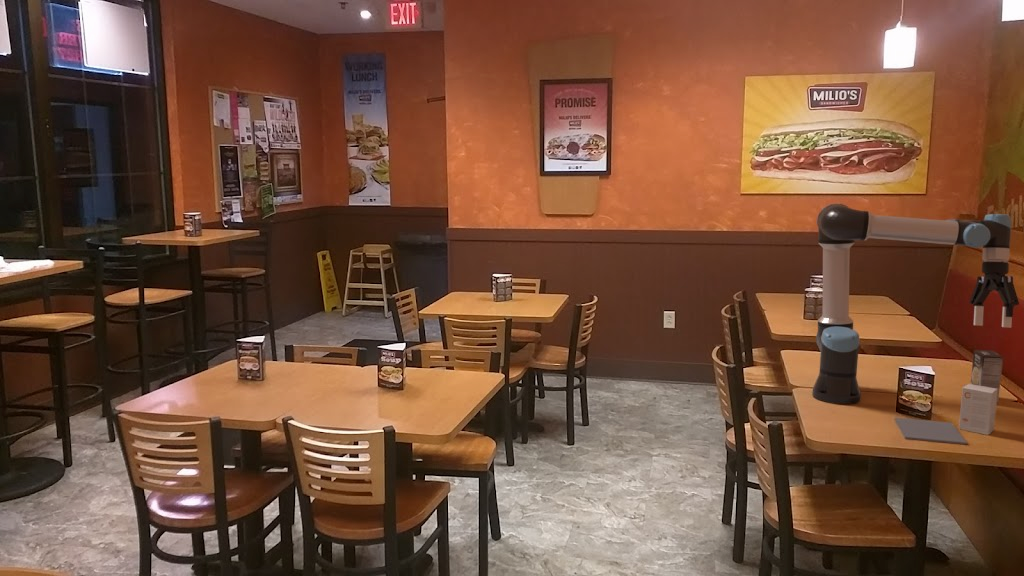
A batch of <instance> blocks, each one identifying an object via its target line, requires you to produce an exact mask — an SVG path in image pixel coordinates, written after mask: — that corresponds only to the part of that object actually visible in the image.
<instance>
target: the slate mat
mask: <svg viewBox="0 0 1024 576" xmlns="http://www.w3.org/2000/svg"><path fill="white" fill-rule="evenodd" d="M894 419H895V420H894ZM893 420H894V422H895V421H896V422H895V423H897V424H896V425H897V427H898V426H899V427H898V429H899V428H900V429H899V431H900V430H901V431H900V433H901V434H902V436H903V438H904V440H912V441H913V440H915V441H923V442H933V443H934V442H935V443H943V444H944V442H945V444H946V443H947V444H955V445H968V442H967V441H966V440H965V438H964V437H963V435H962V434H961V433H960V431H959V429H957V428H956V426H955V425H954V424H953V423H952V422H951V421H949V422H948V421H935V420H926V419H924V420H923V419H916V418H915V419H914V418H904V417H903V418H902V417H894V418H893Z"/></svg>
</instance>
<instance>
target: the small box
mask: <svg viewBox="0 0 1024 576" xmlns="http://www.w3.org/2000/svg"><path fill="white" fill-rule="evenodd" d="M961 391H962V392H961V400H960V411H959V421H958V430H962V431H967V432H972V433H975V434H976V433H977V434H980V435H981V434H982V435H986V436H989V435H991V433H992V432H993V431H994V430H995V420H996V412H997V403H996V402H997V391H998V389H996V388H990V387H985V386H979V385H973V384H971V383H968V384H966V385H965V386H962V390H961Z"/></svg>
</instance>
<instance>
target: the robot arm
mask: <svg viewBox="0 0 1024 576" xmlns="http://www.w3.org/2000/svg"><path fill="white" fill-rule="evenodd" d="M816 225H817V229H818V239H817V241H818V245H819V246H820V247H821V248H822V313H821V316H820V317H819V318H818V319H817V332H816V336H815V342H816V345H817V347H818V350H819V352H820V360H819V372H818V376H817V378H816V381H815V383H814V385H813V387H812V392H811V393H812V394H811V395H812V397H813V398H814V399H817V400H819V401H821V400H822V402H825V401H826V402H825V403H830V402H833V403H832V404H837V403H844V404H843V405H850V404H851V403H853V404H858V403H860V402H861V395H862V394H861V389H860V387H859V382H858V379H857V374H858V373H857V372H858V360H859V350H860V349H859V347H860V344H861V343H860V341H861V340H860V334H859V333H858V331H856V330H855V329H854V320H853V319H852V318H851V317H850V315H849V314H850V312H849V311H850V309H849V308H850V307H849V306H850V255H851V253H850V249H851V248H852V246H853V245H855V241H863V242H864V241H867V240H868V239H877V240H891V241H905V242H917V243H930V244H939V245H950V246H951V245H953V246H963V247H969V248H971V249H972V248H973V249H975V248H982V255H981V257H982V258H981V259H982V261H983V262H982V263H981V273H982V274H984V276H977V278H976V284H975V286H974V289H973V292H972V294H971V297H970V300H969V304H971V305H973V326H978V327H979V326H981V327H983V325H984V311H985V310H984V308H985V307H984V306H985V305H984V302H985V301H986V300H987V298H988V296H989V295H990V294H991V292H993V291H996V292H997V293H998V295H999V297H1000V298H1001V301H1002V303H1003V306H1002V315H1001V327H1002V328H1007V329H1008V328H1010V329H1011V328H1012V324H1013V322H1012V321H1013V320H1012V319H1013V316H1014V307H1016V306H1019V304H1020V302H1019V301H1020V300H1019V298H1018V294H1017V291H1016V288H1015V285H1014V276H1012V275H1008V274H1009V271H1010V263H1009V261H1010V249H1011V246H1010V245H1011V236H1012V234H1011V233H1012V217H1011V216H1010V215H1009V214H1007V213H1006V214H1005V213H1003V214H1002V213H990V214H985V216H984V219H982V220H981V219H980V220H978V219H976V220H975V219H974V220H973V219H957V218H955V219H945V220H943V219H932V218H931V219H930V218H917V217H906V216H905V217H903V216H890V215H880V214H877V215H876V214H872V213H871V212H870V211H867V210H859V209H854V208H851V207H849V206H847V205H846V204H843V203H832V204H829V205H826V206H825V207H824V208H822V209H821V210H820V212H819V214H818V215H817V217H816ZM851 405H852V404H851Z"/></svg>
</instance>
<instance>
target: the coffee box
mask: <svg viewBox="0 0 1024 576" xmlns="http://www.w3.org/2000/svg"><path fill="white" fill-rule="evenodd" d="M972 356H973V358H972V365H971V368H972V369H971V375H970V384H973V385H979V386H985V387H990V388H996V389H998V391H997V402H996V404H998V403H999V398H1000V387H1001V380H1002V371H1003V361H1004V356H1002V355H1000V354H999V353H998V352H997V351H995V350H986V349H985V350H984V349H983V350H982V349H974V350H973V355H972Z"/></svg>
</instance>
